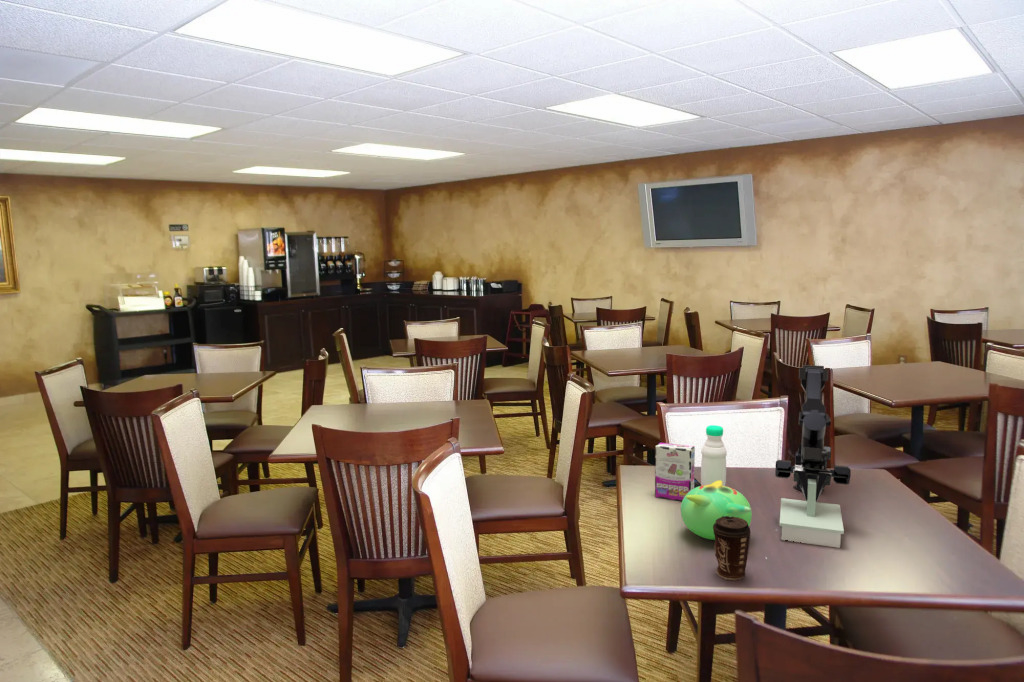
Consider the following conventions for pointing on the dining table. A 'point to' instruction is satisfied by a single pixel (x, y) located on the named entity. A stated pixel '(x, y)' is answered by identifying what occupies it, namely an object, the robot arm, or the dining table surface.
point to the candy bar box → (674, 470)
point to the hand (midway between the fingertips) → (811, 500)
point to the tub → (811, 537)
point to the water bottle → (713, 457)
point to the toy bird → (712, 507)
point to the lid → (811, 513)
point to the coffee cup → (731, 546)
